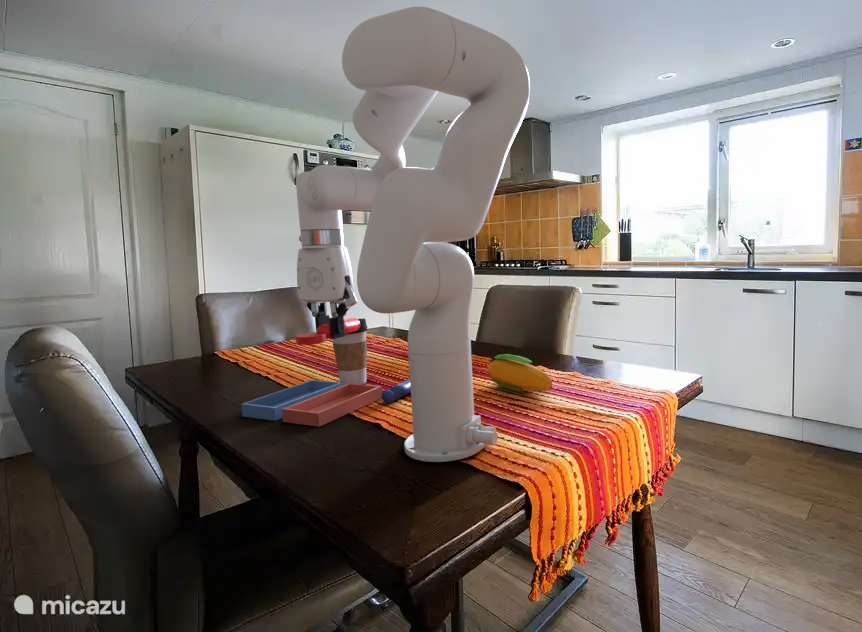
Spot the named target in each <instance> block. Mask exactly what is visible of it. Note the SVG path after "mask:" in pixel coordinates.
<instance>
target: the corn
mask: <svg viewBox="0 0 862 632" xmlns="http://www.w3.org/2000/svg"><path fill="white" fill-rule="evenodd" d="M487 371H488V373H487V375H488V377H489V378H490V380H491V381H492V382H493V383H495V384H497V385H498V386H500V387H502V388H505V389H508V390H511V391H515V392H518V393H523V394H525V392H524V390H525V391H531V392H532V391H533V392H534V391H538V392H543V391H544V392H546V391H550V390H552V389H553V379H552V377H551V376H550V375H548V374H547V373H546V372H544V371H542V370H541V369H539V368H538V367H537V366H534V364H533V361H532V360H531V359H529V358H528V357H524V356H521V355H517V354H516V355H515V354H509V353H504V354H503V353H502V354H497V355H495V356H494V357H493V358H491V359H490V360H489V365H488V367H487ZM522 390H523V391H522Z"/></svg>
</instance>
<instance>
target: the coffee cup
mask: <svg viewBox="0 0 862 632" xmlns="http://www.w3.org/2000/svg"><path fill="white" fill-rule="evenodd" d="M357 319H358V320H359V321H360V328H359V329H358V330H357V331H354V332H350V333H346V334H345V336H344V337H340V338H336V339H332V348H333V353H334V359H335V363H336V368H337V373H338V379H339V382H341V383H342V386H343V385H346V384H348V383H352V384H363V385H365V383H367V362H368V361H367V354H368V339H367V332H368V330H369V329H368V325H367V321H366V318H357Z"/></svg>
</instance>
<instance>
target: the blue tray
mask: <svg viewBox="0 0 862 632" xmlns="http://www.w3.org/2000/svg"><path fill="white" fill-rule="evenodd" d="M341 386H342V383H341V382H340V381H328V380H316V379H310V380H307V381H304V382H301V383H298V384H296V385H293V386H290V387H287V388H284V389H281V390H278V391H275V392H272V393H270V394H266V395H264V396H261V397H258V398H254V399H252V400H249V401H246V402H243V403H240V405H241V406H240V407H241V415H242V417H245V418H253V419H259V420H265V421H266V420H267V421H274V422H276V421H279V420H281V419H283V414H282V409H283V408H286V407H289V406H291V405H294V404H296V403H299V402H302V401H304V400H307V399H309V398H312V397H315V396H317V395H320V394H322V393H325V392H328V391H330V390H333V389H335V388H338V387H341Z"/></svg>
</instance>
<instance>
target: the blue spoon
mask: <svg viewBox="0 0 862 632" xmlns="http://www.w3.org/2000/svg"><path fill="white" fill-rule="evenodd" d="M409 394H411V388H410V378H409V379H406V380H405V381H402V382H400V383H397V384H395V385H393V386H390V387H389V388H386V389H385V390H382V395H381V397H382V398H381V400H382V401H383V402H384V403H386V404H390V403H392V402H395V401H397V400H399V399H401V398H403V397H405V396H407V395H409Z"/></svg>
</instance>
